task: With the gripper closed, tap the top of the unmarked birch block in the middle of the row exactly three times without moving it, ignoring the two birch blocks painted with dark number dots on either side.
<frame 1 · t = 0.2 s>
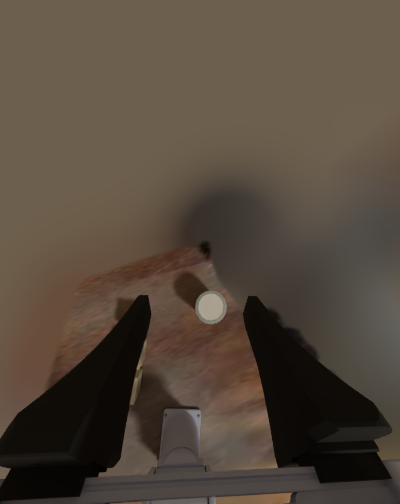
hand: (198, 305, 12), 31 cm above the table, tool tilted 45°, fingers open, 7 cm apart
cream short cylinder: (206, 304, 42), on the table
plain block: (135, 349, 38), on the table
dotted block two: (131, 379, 36), on the table
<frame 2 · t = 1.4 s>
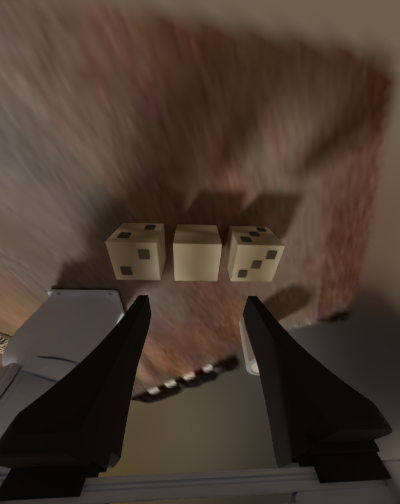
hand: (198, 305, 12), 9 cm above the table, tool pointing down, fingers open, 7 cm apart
dotted block three: (244, 242, 20), on the table
cream short cylinder: (254, 321, 29), on the table
plain block: (196, 241, 20), on the table
dotted block two: (146, 240, 20), on the table
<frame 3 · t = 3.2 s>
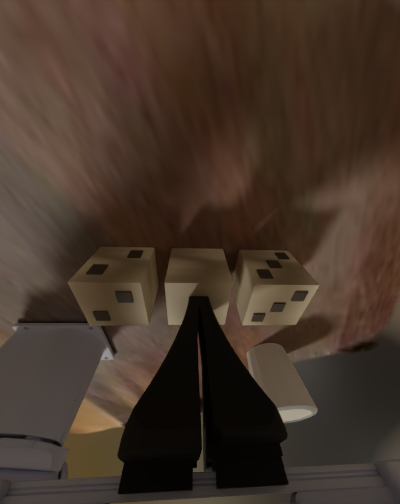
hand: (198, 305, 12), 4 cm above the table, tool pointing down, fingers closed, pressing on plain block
dotted block three: (257, 269, 16), on the table
cream short cylinder: (264, 351, 25), on the table
plain block: (196, 267, 16), on the table, touching gripper
dotted block two: (132, 267, 15), on the table
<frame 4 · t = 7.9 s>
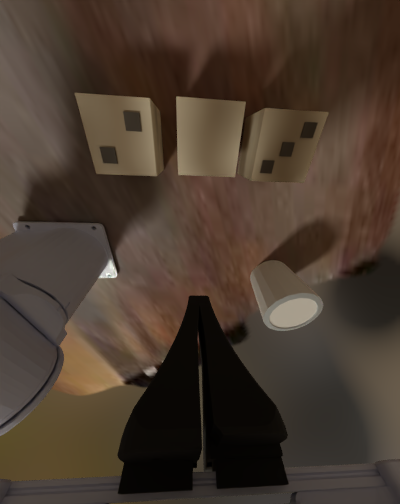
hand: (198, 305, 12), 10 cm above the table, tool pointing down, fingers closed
dotted block three: (263, 149, 16), on the table
cream short cylinder: (268, 274, 25), on the table
plain block: (204, 143, 15), on the table
dotted block two: (137, 141, 15), on the table
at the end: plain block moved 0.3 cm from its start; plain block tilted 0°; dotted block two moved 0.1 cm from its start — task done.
